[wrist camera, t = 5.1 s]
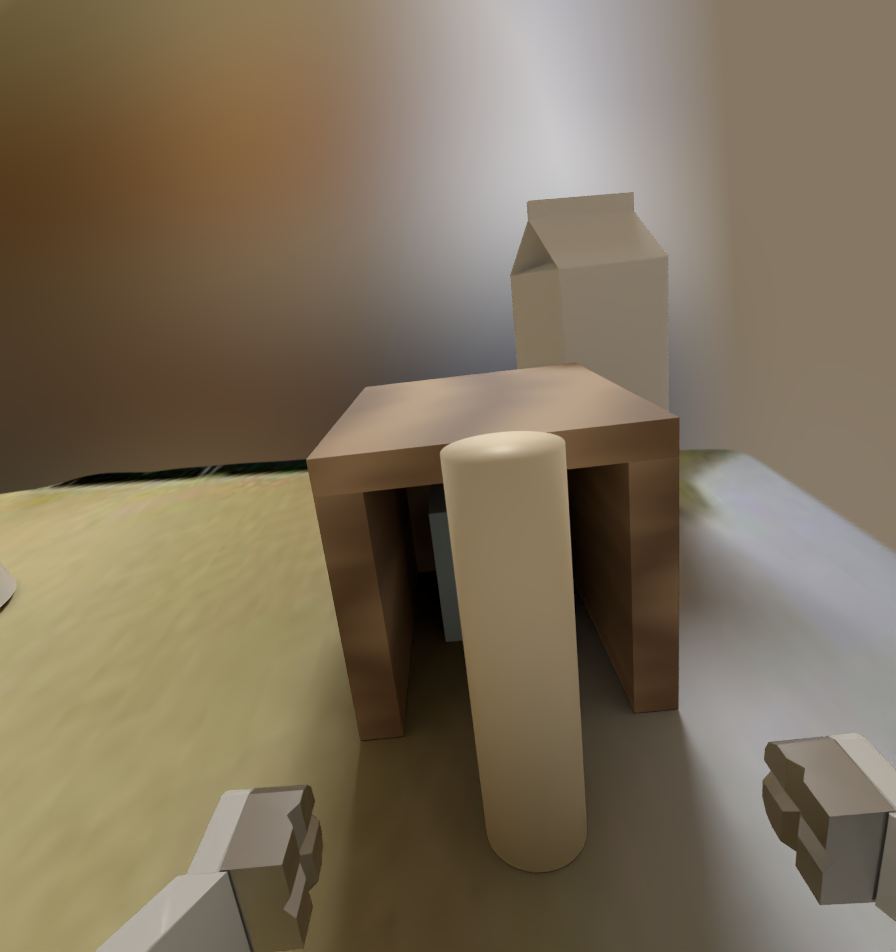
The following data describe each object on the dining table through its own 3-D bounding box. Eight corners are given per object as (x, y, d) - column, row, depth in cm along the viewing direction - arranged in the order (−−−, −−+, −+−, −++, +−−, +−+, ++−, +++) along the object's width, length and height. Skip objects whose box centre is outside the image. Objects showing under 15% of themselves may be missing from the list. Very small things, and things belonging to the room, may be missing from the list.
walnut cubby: (360, 740, 20) (306, 459, 17) (393, 563, 34) (365, 387, 31) (678, 708, 20) (679, 417, 17) (584, 542, 33) (575, 362, 30)
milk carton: (669, 497, 39) (669, 180, 33) (572, 519, 37) (554, 189, 31) (611, 470, 45) (602, 202, 40) (526, 488, 43) (504, 211, 38)
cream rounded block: (447, 881, 15) (385, 477, 12) (445, 587, 30) (417, 374, 27) (641, 863, 15) (632, 450, 12) (541, 577, 30) (525, 362, 27)
